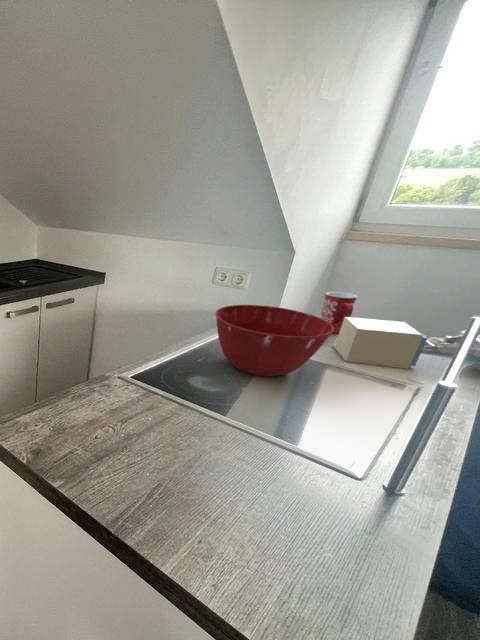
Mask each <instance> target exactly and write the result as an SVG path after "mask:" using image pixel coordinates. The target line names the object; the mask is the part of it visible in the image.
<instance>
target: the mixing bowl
mask: <svg viewBox="0 0 480 640" xmlns="http://www.w3.org/2000/svg"><path fill="white" fill-rule="evenodd" d="M214 314H215V315H214V316H215V320H216V327H217V329H216V330H217V335H218V341H219V344H220V347H221V350H222V353H223V355H224V357H225V358H226V359H227V361H228V362H229V363H230V364H231V365H233V366H234V367H235V368H237V370H240V371H242V372H245V373H248V374H251V375H255V376H261V377H279V376H283V375H287V374H289V373H292V372H295V371H296V370H298V369H299V368H301V367H302V366H303V365H304V364H306V363H307V362H308V361H309V360H310V359H311V358H312V357H313V356H314V355H315V354H316V352H318V351H319V350H320V348H321V347H322V346H323V344H324V343H325V342H326V341H327V339H328V338H329V336H330V335H331V334H333V333H332V332H333V331H334V327H333V326H332V325H331V324H330V323H329V322H327V321H325V320H323V319H321V318H320V317H319V316H316V315H313V314H311V313H310V314H309V313H306V312H303V311H298V310H296V309H295V310H294V309H289V308H283V307H277V306H269V305H258V304H234V305H233V304H232V305H227V306H223V307H220V308H218V309H216V311H215V313H214Z"/></svg>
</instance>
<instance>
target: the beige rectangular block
mask: <svg viewBox="0 0 480 640" xmlns="http://www.w3.org/2000/svg"><path fill="white" fill-rule="evenodd" d="M423 335H424V334H423V333H421V332H420V331H418V330H417V329H415V328H414V327H412V326H411V325H410V324H408V323H407V322H405V321H398V320H388V319H387V320H385V319H374V318H362V317H352V316H350V317H345V318H344V321H343V324H342V326H341V329H340V332H339V333H338V335H337V338H336V341H335V344H334V349H335V350H336V352H337V353H338V354H339V355H340V356H341V357H342V359H343V360H344V361H345V362H347V363H348V362H349V363H357V364H364V365H373V366H374V365H375V366H383V367H389V368H397V369H406V370H409V368H410V367H411V366H410V364H411V362H412V360H413V358H414V355H415V353H416V351H417V349H418V346H419V344H420V342H421V340H422V337H423Z"/></svg>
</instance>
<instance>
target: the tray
mask: <svg viewBox="0 0 480 640" xmlns="http://www.w3.org/2000/svg"><path fill="white" fill-rule="evenodd" d="M423 349H428V350H430V351H431V352H436V351H438V350H439V346H437V344H434V343H433V342H432V341H430V340H428V337H427V336H426V335H424V334H423V337H422V340H421V342H420V344H419V346H418V349H417V351H416V353H415V355H414V358H413V360H412V362H411V364H410V366H409V367H411V366H412V367H415V366H416V365H417V363H418V361H419V358H420V356H421V354H422V351H423Z"/></svg>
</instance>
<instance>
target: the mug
mask: <svg viewBox="0 0 480 640" xmlns="http://www.w3.org/2000/svg"><path fill="white" fill-rule="evenodd" d="M324 296H325V297H324V300H323V304H322V309H321V313H320V317H319V318H321V319H323V320H325V321H327V322H329V323H330V324H331V325H332V326H333V327H334V331H333V332H332V333H331V334H339V332H340V329H341V326H342V324H343V321H344V318H345V317H352V314H353V311H354V305H355V303H356V301H357V299H358V297H359V296H358V295H357V294H353V293H348V292H343V291H342V292H340V291H328V292H325V294H324Z"/></svg>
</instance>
